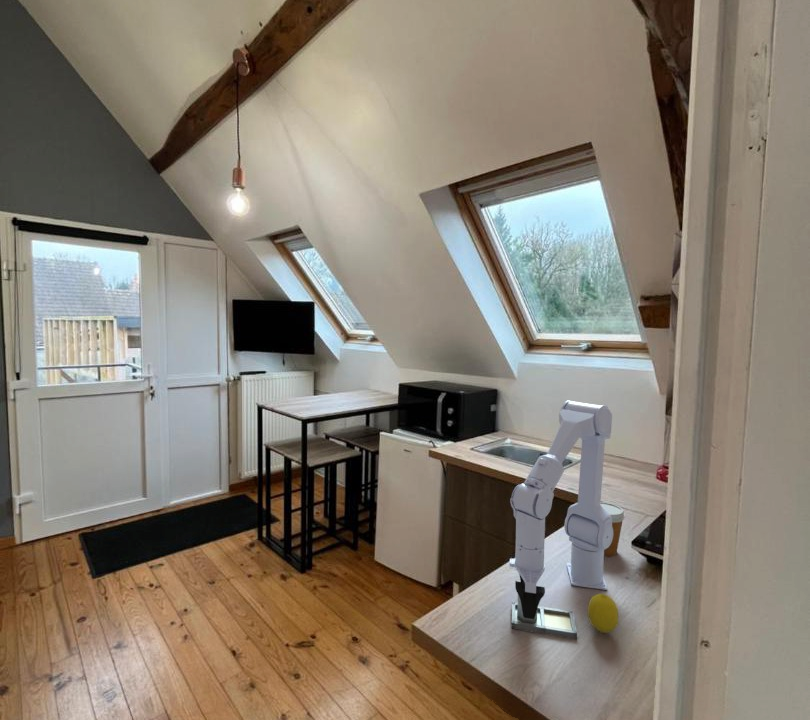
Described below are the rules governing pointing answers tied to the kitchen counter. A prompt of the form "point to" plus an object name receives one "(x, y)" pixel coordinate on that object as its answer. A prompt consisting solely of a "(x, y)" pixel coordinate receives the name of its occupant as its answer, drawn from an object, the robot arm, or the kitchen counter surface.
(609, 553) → the disposable coffee cup
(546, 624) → the checker tray
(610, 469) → the kitchen counter surface
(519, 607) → the cell
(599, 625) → the lemon
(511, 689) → the kitchen counter surface
